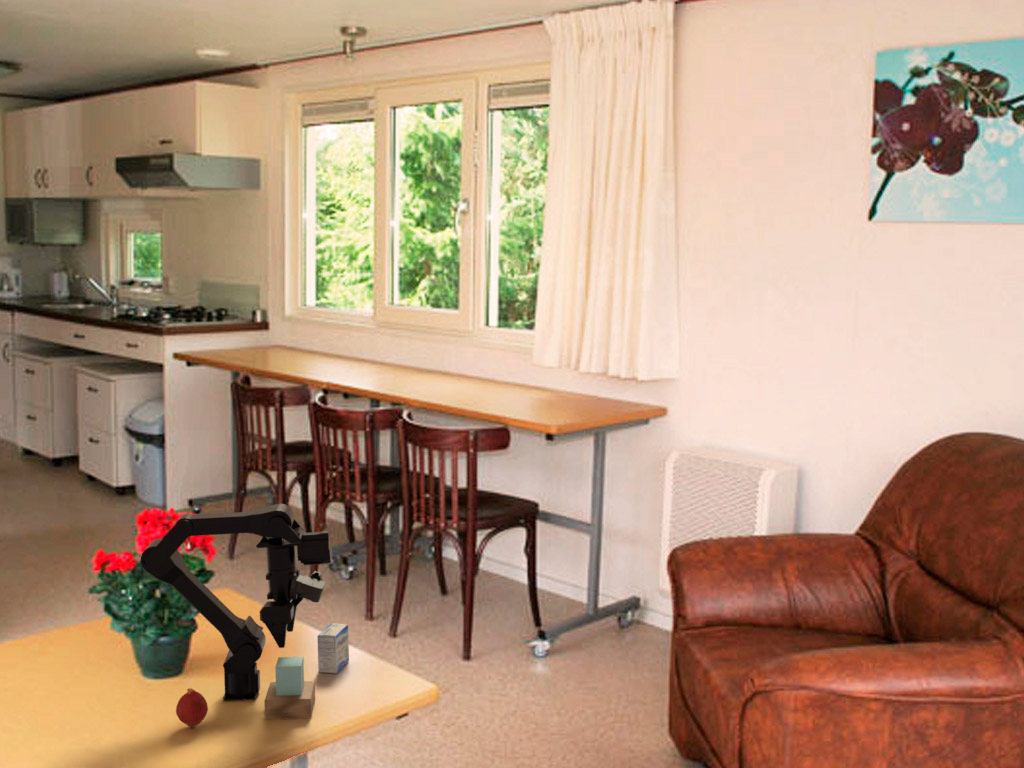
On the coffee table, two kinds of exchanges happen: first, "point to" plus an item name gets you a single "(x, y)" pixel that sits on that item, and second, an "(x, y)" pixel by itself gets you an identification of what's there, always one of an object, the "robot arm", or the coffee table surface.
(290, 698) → the walnut stand
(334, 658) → the medicine box
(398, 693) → the coffee table surface
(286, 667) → the teal block
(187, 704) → the onion
